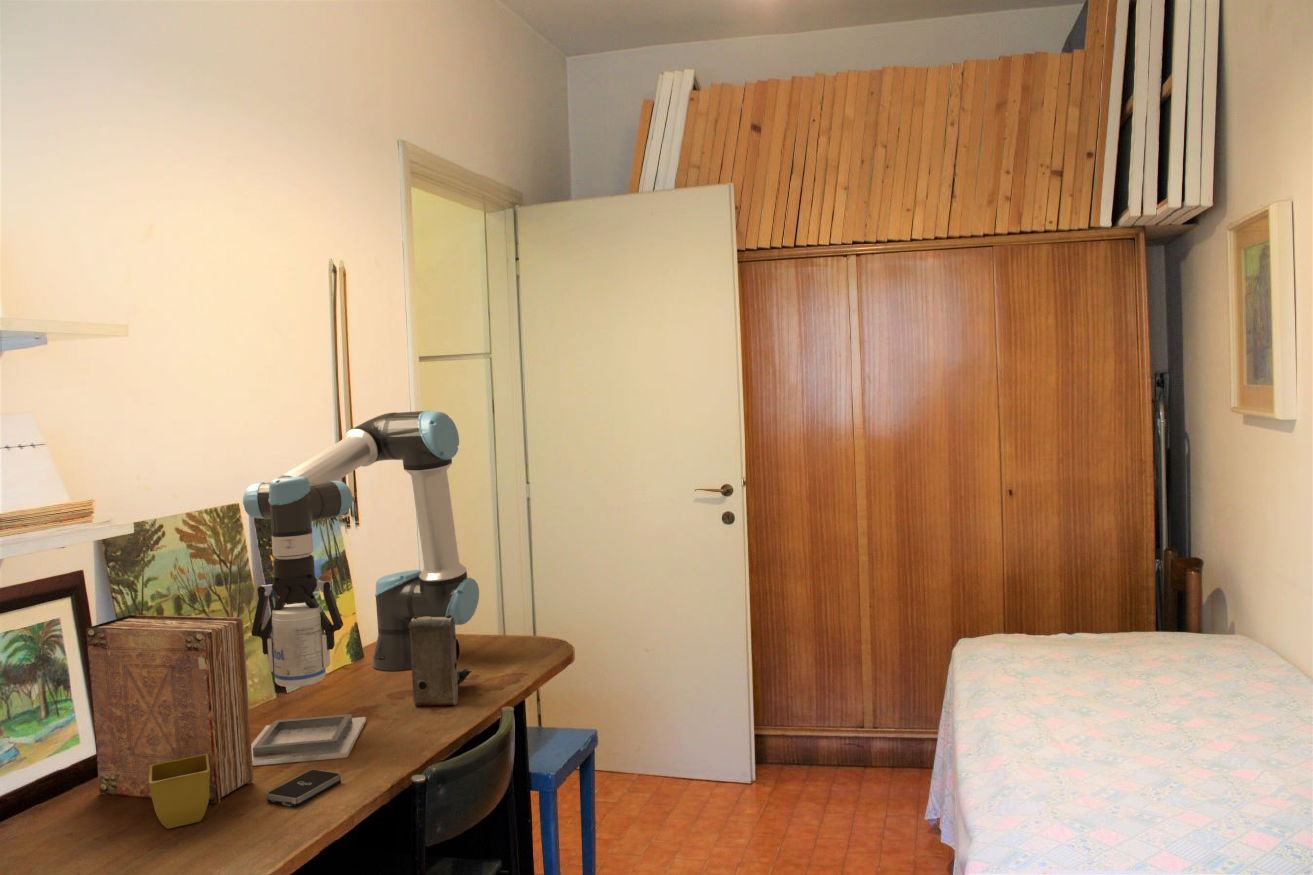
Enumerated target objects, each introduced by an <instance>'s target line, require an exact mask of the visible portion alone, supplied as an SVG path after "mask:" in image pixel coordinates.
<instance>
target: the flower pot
mask: <svg viewBox="0 0 1313 875" xmlns="http://www.w3.org/2000/svg"><path fill="white" fill-rule="evenodd" d="M209 783H210V767H209V758H208V754H202V755H197V756H192V757H188V758H183V759H179V760H173V761H167V762H162V763H157V764H153V765H150V773H149V786H150V791H151V796H152V799H151V800H152V805H153V809H154V812H155V814H156V817H157V819H158V820H159V822H160V823H161V824H162V826H163V827H164V828H166V829H167V830H168V829H169V830H170V829H174V828H178V827H183V826H186V825H191V824H195V823H196V824H197V823H200V822H201V821H202V820H203V819H204V816H205V814H206V811H207V809H208V805H209V804H208V801H209Z"/></svg>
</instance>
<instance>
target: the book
mask: <svg viewBox="0 0 1313 875" xmlns="http://www.w3.org/2000/svg"><path fill="white" fill-rule="evenodd" d="M85 632H86V642H87V643H86V644H87V654H88V667H89V679H90V690H91V692H90V693H91V702H92V706H91V707H92V716H93V728H94V741H95V742H94V743H95V751H96V752H95V753H96V766H97V774H98V775H97V778H98V779H97V780H98V789H99V794H101V795H110V796H120V797H121V796H123V797H129V798H130V797H131V798H141V799H148V800H149V799H150V800H152V796H151V791H150V786H149V773H150V765H153V764H157V763H162V762H167V761H173V760H179V759H183V758H188V757H192V756H197V755H202V754H208V758H209V767H210V783H209V801H208V805H212V806H218V805H220V803H221V799H222V798H224V797H225V796H227V795H230V793H232V792H233V791H235V790H237V789H239V788H240V787H242V786H244V785H251V784H253V783H254V781H255V780H254V766H253V764H252V748H251V744H252V738H251V737H252V736H251V722H250V708H249V689H248V677H247V660H246V659H247V658H246V647H245V631H244V619H243V618H242V617H229V616H228V617H225V616H223V617H222V616H193V615H192V616H189V615H188V616H186V615H184V616H183V615H145V614H143V615H141V614H130V615H129V614H128V615H126V616H122V617H118V618H116V619H112V620H109V621H106V622H105V621H104V622H103V623H102V622H101V623H99V624H95V625H92V626H89V627H87V628H86V629H85Z"/></svg>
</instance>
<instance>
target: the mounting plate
mask: <svg viewBox="0 0 1313 875" xmlns="http://www.w3.org/2000/svg"><path fill="white" fill-rule="evenodd" d="M366 720H367V719H366V716H362V717H353V715H352V714H351V713H348V714H337V715H326V716H314V717H313V716H312V717H302V718H301V717H300V718H289V719H277V720H276V719H275V720H274V721H273V722H272V723H271V724H267V725H265V726H264V728H263V729H262V730H261V731H260V732H259V734H258V735H257V737H256V738H255V739H254V740H253V741H252V742H251V748H252V764H253V767H256V766H267V765H278V764H280V765H281V764H289V763H300V762H310V761H311V762H312V761H322V760H323V761H325V760H333V759H345V758H349V755H350V754H351V752H352V749H353V748H354V746H355V744H356V741H357V740H358V737H359V736H360V734H361V733H362V729H363V728H364V727H365V726H364V725H365V724H366V722H367V721H366Z"/></svg>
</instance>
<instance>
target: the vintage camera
mask: <svg viewBox="0 0 1313 875" xmlns="http://www.w3.org/2000/svg"><path fill="white" fill-rule="evenodd" d="M409 632H410V635H411V659H412V669H411V676H412V677H411V678H412V692H413V693H412V694H413V695H412V696H413V699H412V700H413V703H414V706H418V707H420V706H422V707H423V706H430V707H431V706H432V707H433V706H434V707H435V706H437V707H438V706H457V704H458V701H459V686H460V684H462V683H463V682H464V681H465V680H466V679H467V678H468V676H470V674H471V673H472V670H469V668H467V667H464V668H463V669H462V670H458V666H457V663H458V662H457V661H458V659H459V656H460V649H461V647H460V642H459V639H457V636H456V635H457V634H456V632H457V631H456V625H455V620H454V617H453V616H451V615H448V616H442V617H418V616H415V617H414V618H412V619H411V622H410V624H409Z"/></svg>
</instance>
